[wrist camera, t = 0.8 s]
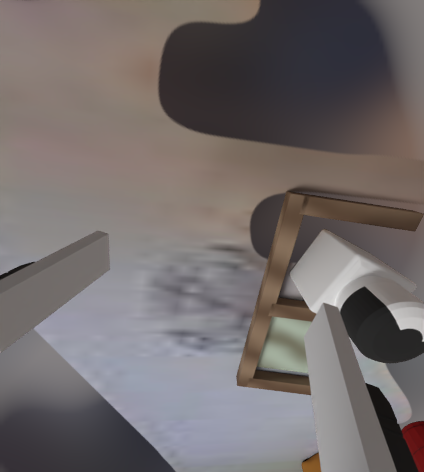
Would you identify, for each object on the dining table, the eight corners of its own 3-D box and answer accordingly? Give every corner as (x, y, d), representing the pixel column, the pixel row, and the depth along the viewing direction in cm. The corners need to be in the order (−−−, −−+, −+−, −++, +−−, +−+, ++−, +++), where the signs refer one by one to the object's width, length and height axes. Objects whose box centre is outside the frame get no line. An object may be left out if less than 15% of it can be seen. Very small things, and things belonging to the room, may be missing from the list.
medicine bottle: (332, 295, 29) (404, 386, 18) (287, 273, 28) (334, 355, 17) (370, 252, 26) (480, 326, 15) (322, 227, 25) (404, 286, 14)
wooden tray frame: (286, 191, 24) (290, 193, 23) (412, 210, 24) (424, 214, 23) (236, 376, 35) (237, 385, 34) (324, 387, 35) (328, 397, 34)
